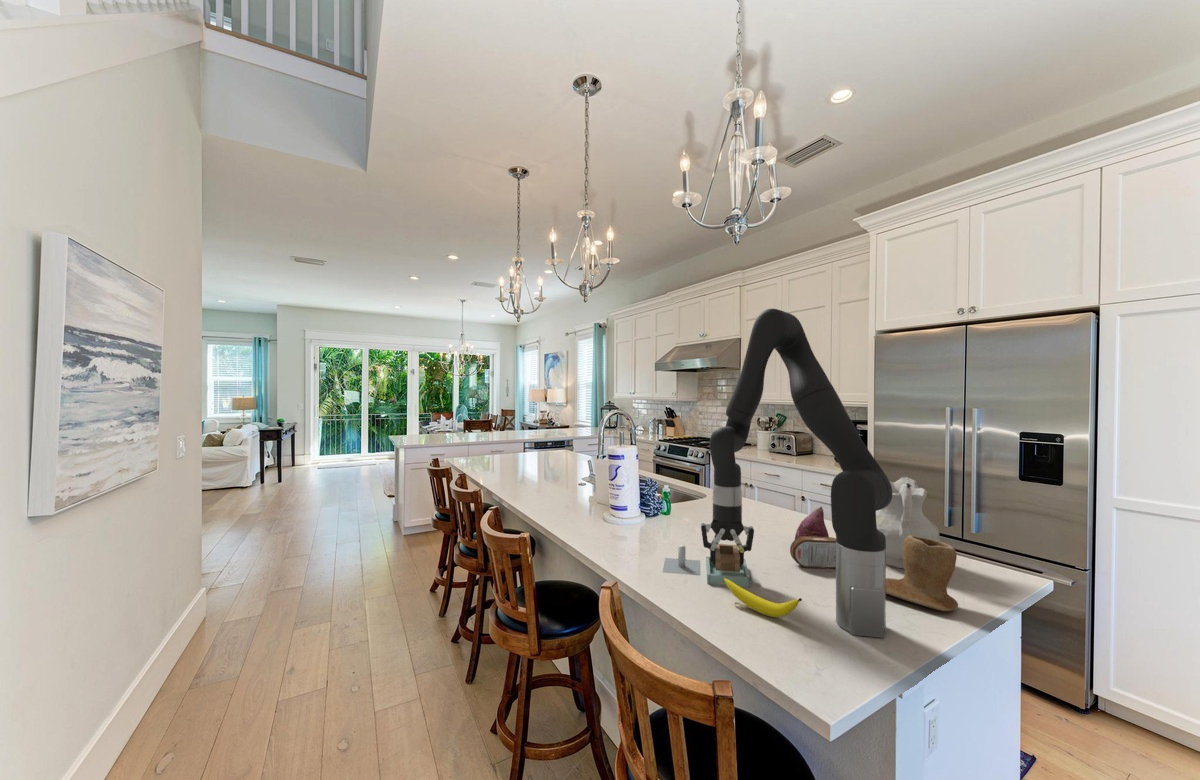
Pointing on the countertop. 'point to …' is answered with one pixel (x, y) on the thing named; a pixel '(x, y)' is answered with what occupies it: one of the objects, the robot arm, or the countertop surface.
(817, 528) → the vegetable
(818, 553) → the tin
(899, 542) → the ceramic pitcher
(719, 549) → the stepped wooden block
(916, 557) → the brown felt boot
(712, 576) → the tray
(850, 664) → the countertop surface
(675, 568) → the grey plate with post
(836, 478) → the robot arm
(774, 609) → the banana
